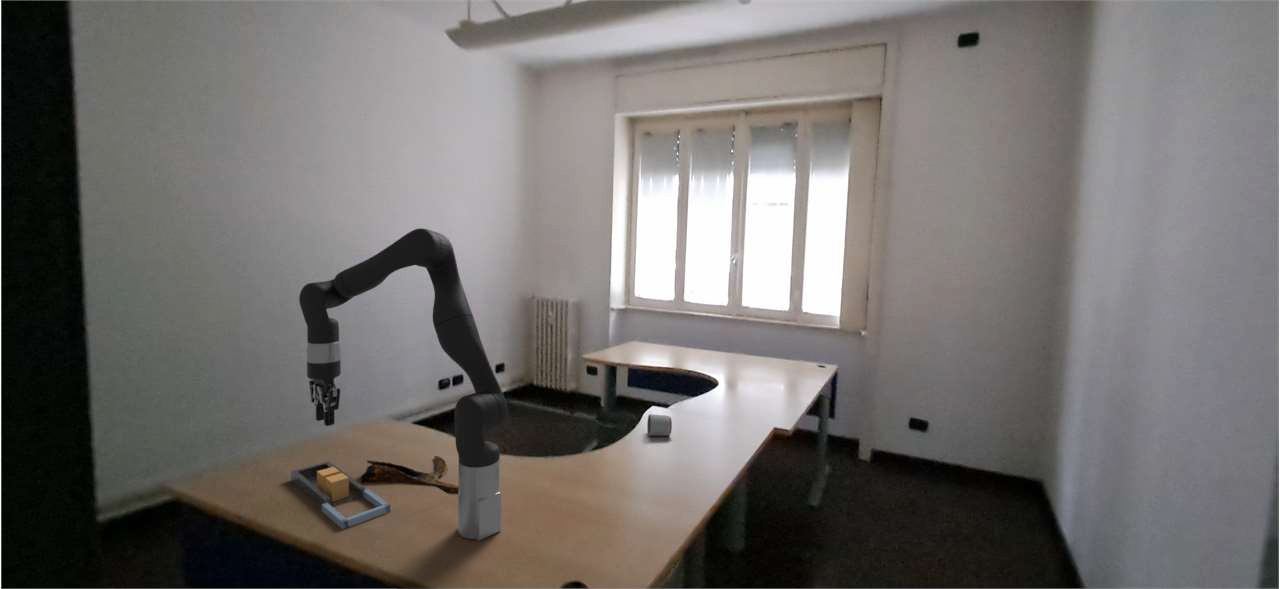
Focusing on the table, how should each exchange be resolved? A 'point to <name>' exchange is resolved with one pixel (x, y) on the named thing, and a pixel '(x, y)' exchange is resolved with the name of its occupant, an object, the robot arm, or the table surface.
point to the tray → (343, 522)
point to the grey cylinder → (659, 425)
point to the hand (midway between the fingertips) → (325, 422)
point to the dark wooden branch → (401, 474)
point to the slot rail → (308, 484)
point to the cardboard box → (337, 486)
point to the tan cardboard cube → (323, 474)
